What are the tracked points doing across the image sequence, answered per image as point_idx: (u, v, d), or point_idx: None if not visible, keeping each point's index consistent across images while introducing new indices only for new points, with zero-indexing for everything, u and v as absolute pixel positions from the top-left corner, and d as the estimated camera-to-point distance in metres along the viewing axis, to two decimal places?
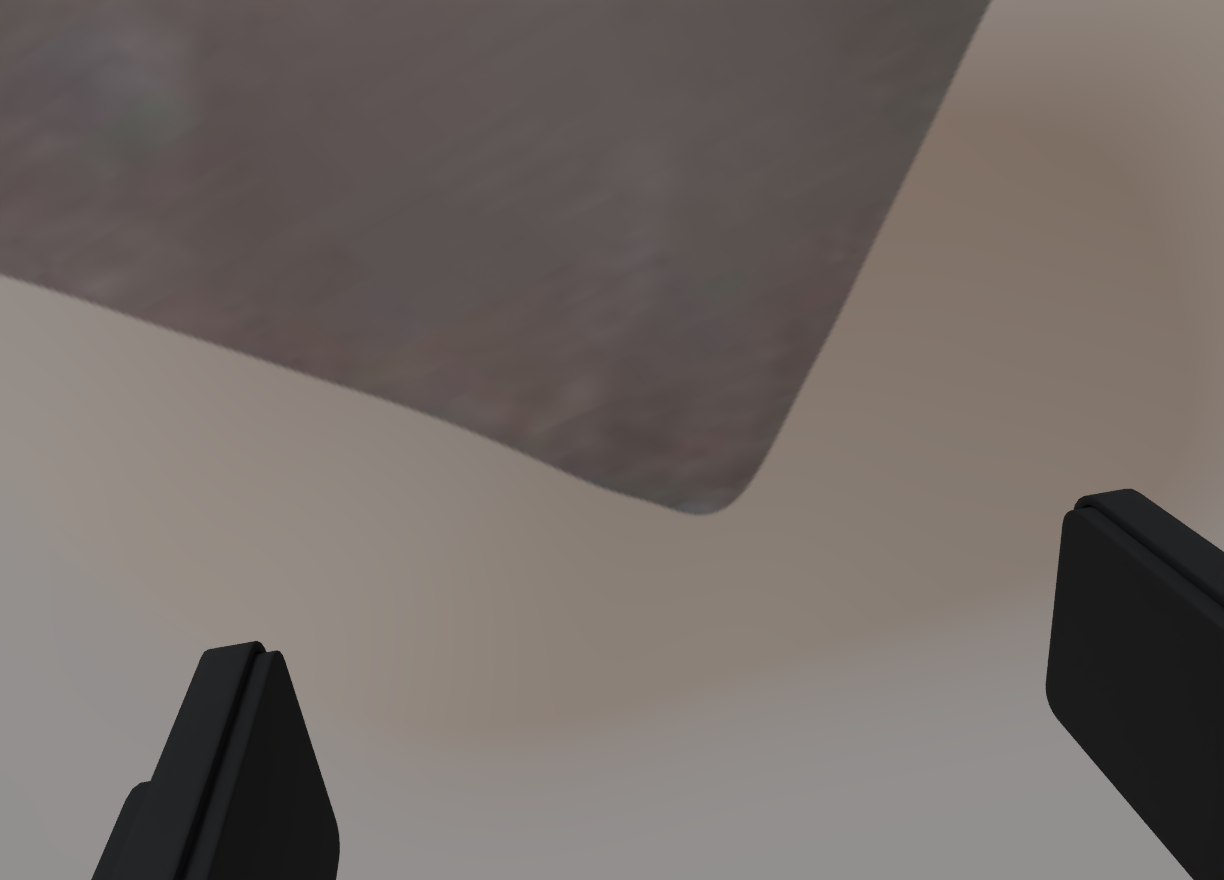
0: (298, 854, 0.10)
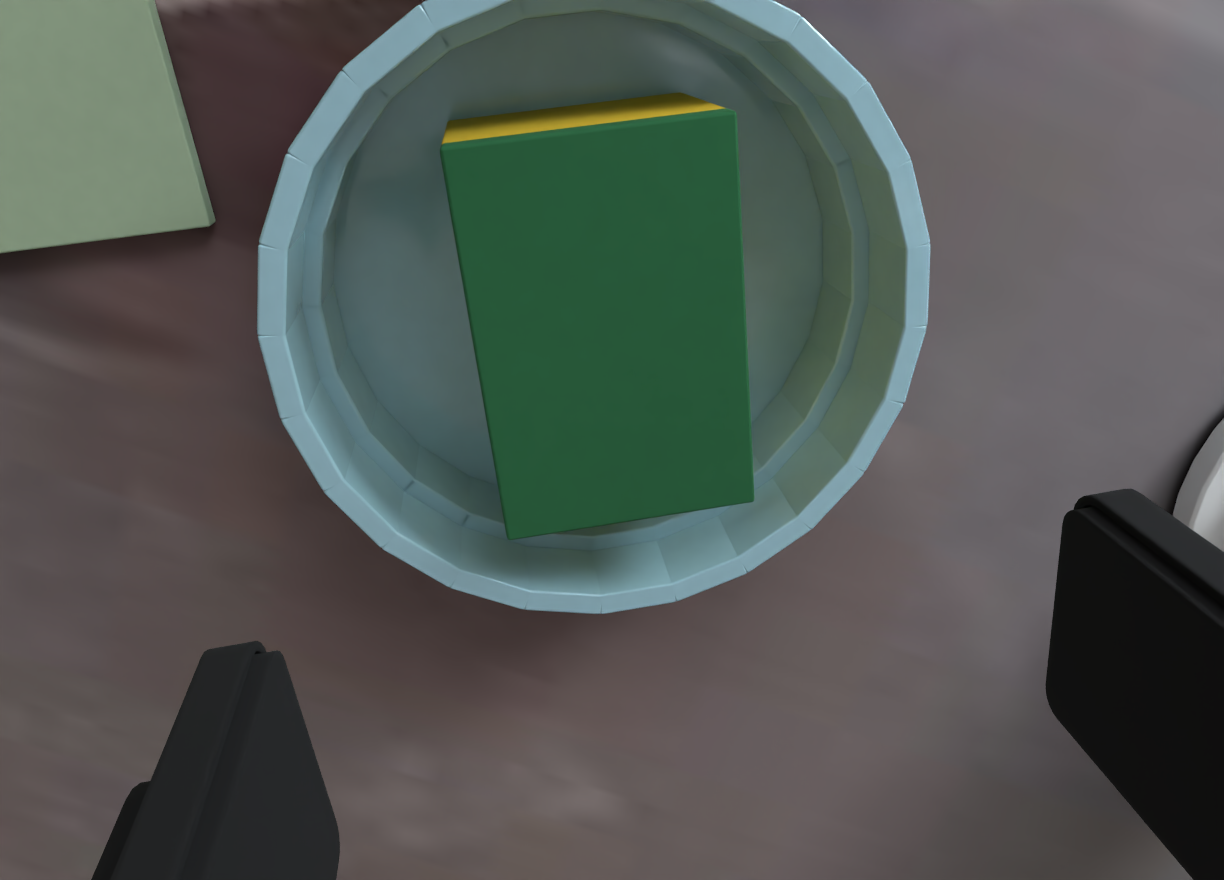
0: (298, 854, 0.10)
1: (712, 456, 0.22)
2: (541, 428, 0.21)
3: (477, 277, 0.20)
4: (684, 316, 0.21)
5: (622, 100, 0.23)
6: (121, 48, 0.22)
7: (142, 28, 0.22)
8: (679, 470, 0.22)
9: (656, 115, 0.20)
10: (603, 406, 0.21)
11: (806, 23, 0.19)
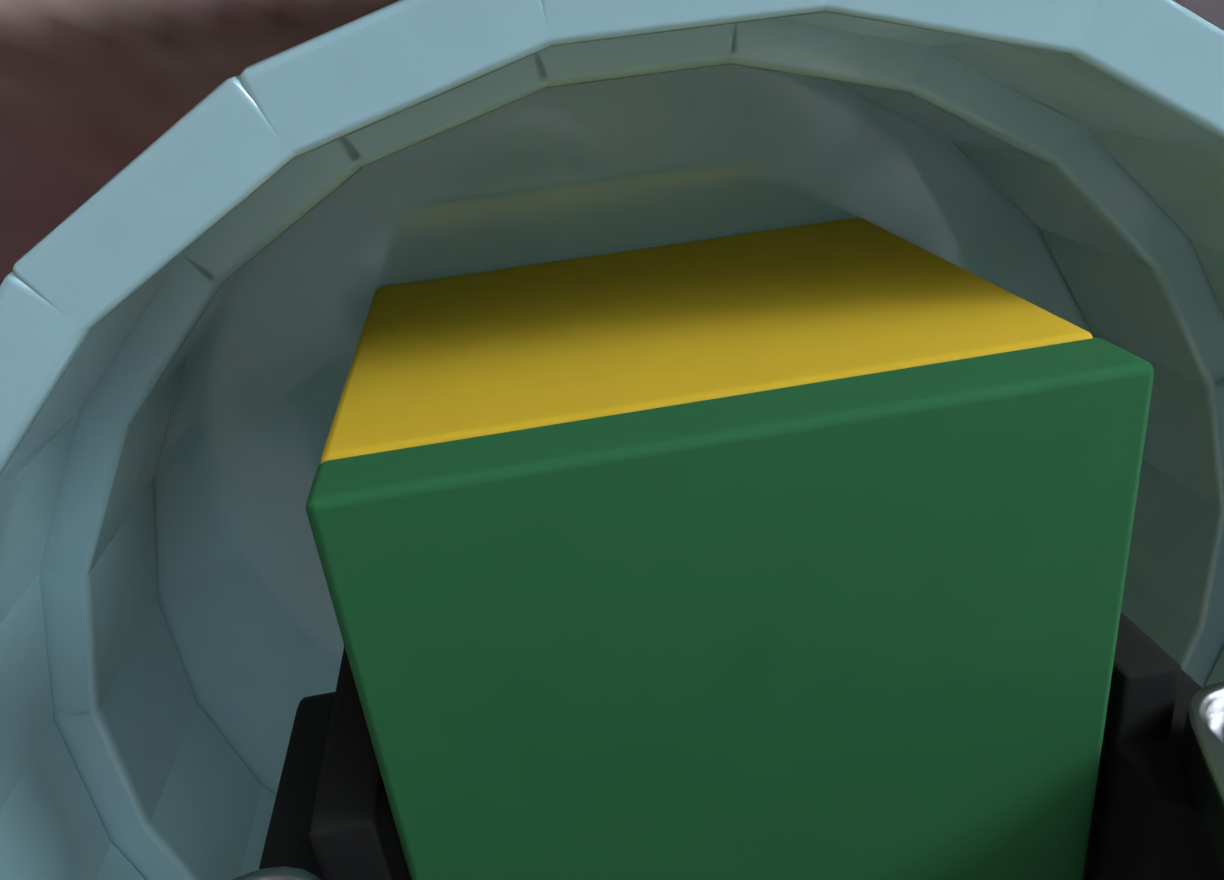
0: None
1: None
2: None
3: (429, 796, 0.07)
4: (948, 827, 0.08)
5: (744, 240, 0.11)
6: None
7: None
8: None
9: (904, 355, 0.07)
10: None
11: None
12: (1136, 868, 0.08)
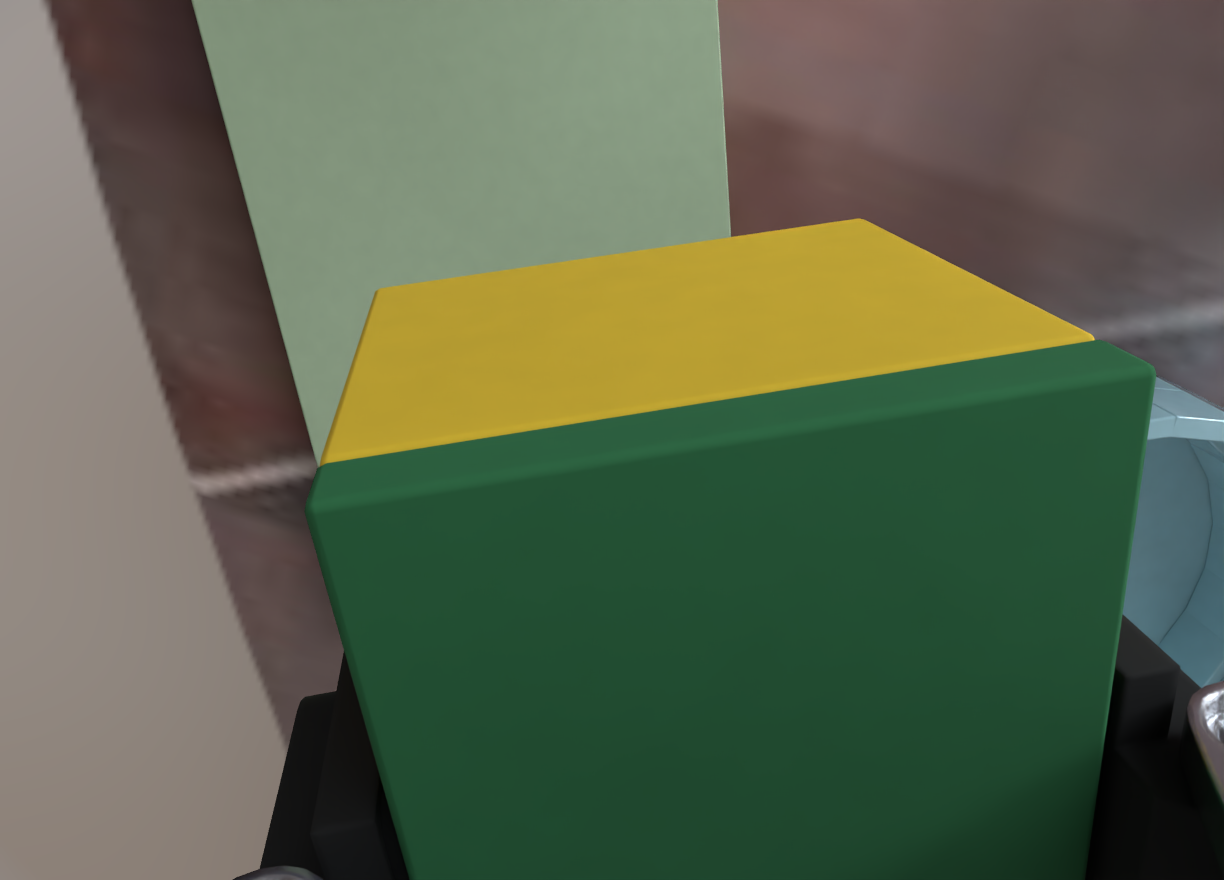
0: None
1: None
2: None
3: (428, 799, 0.07)
4: (950, 830, 0.08)
5: (745, 242, 0.11)
6: None
7: None
8: None
9: (905, 357, 0.07)
10: None
11: None
12: (1135, 868, 0.08)
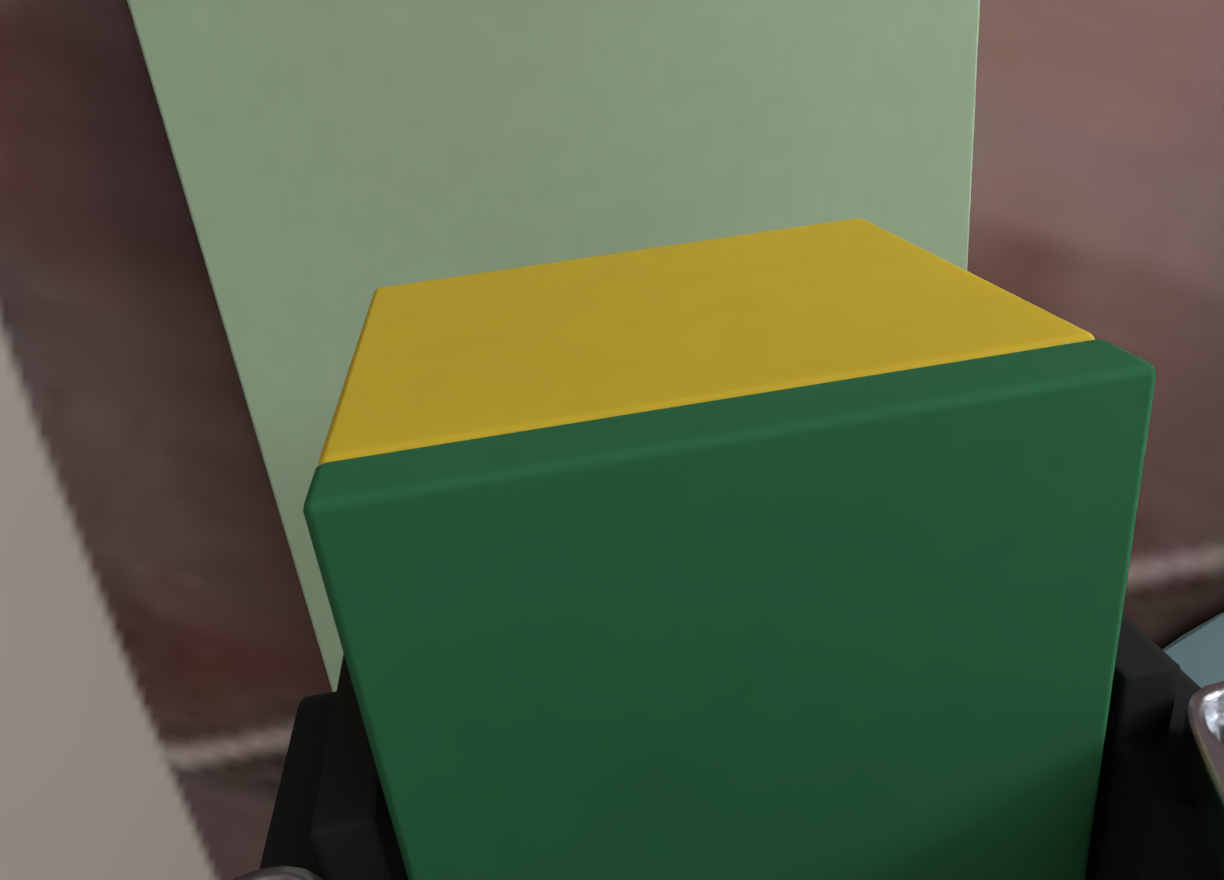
0: None
1: None
2: None
3: (427, 799, 0.07)
4: (949, 829, 0.08)
5: (744, 241, 0.11)
6: None
7: None
8: None
9: (905, 356, 0.07)
10: None
11: None
12: (1135, 868, 0.08)
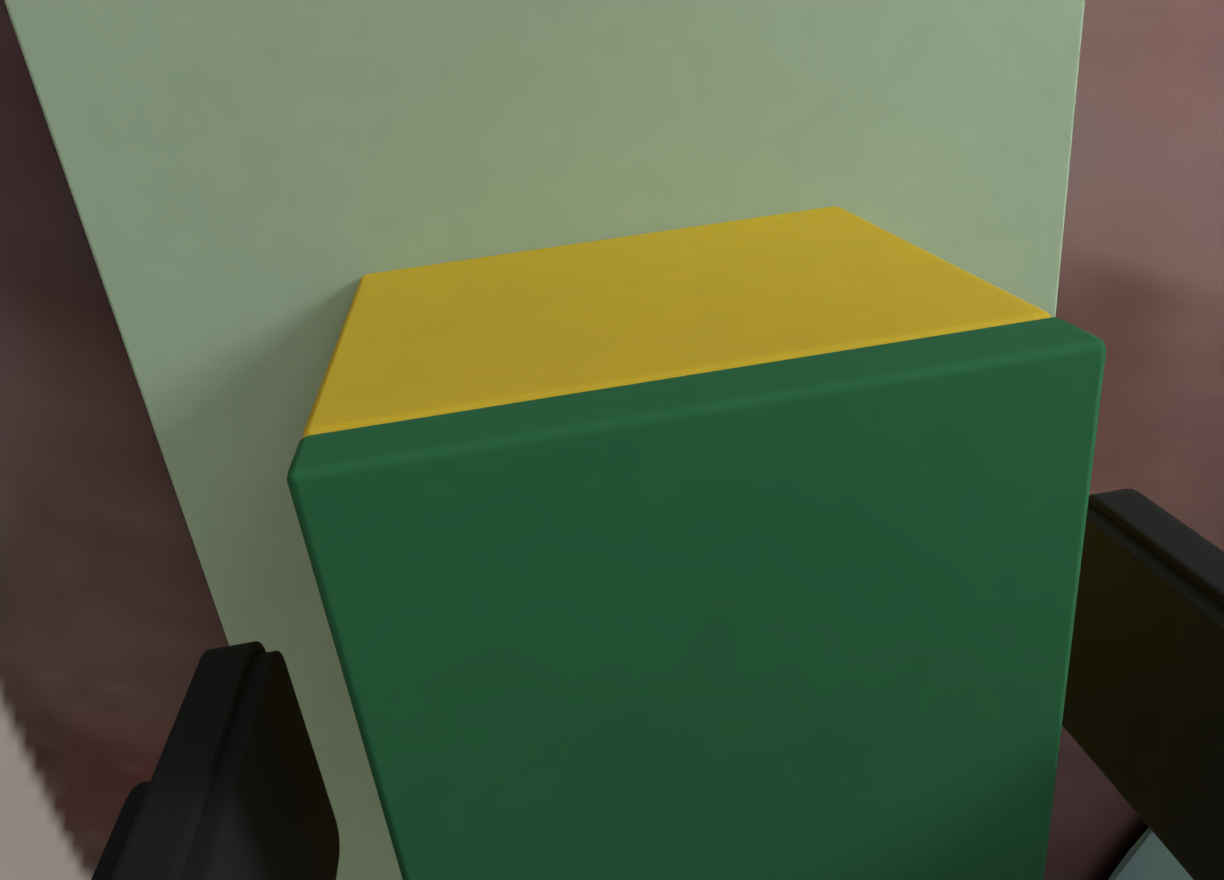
0: (298, 854, 0.10)
1: None
2: None
3: (409, 762, 0.08)
4: (915, 794, 0.09)
5: (722, 228, 0.11)
6: None
7: None
8: None
9: (868, 334, 0.08)
10: None
11: None
12: None
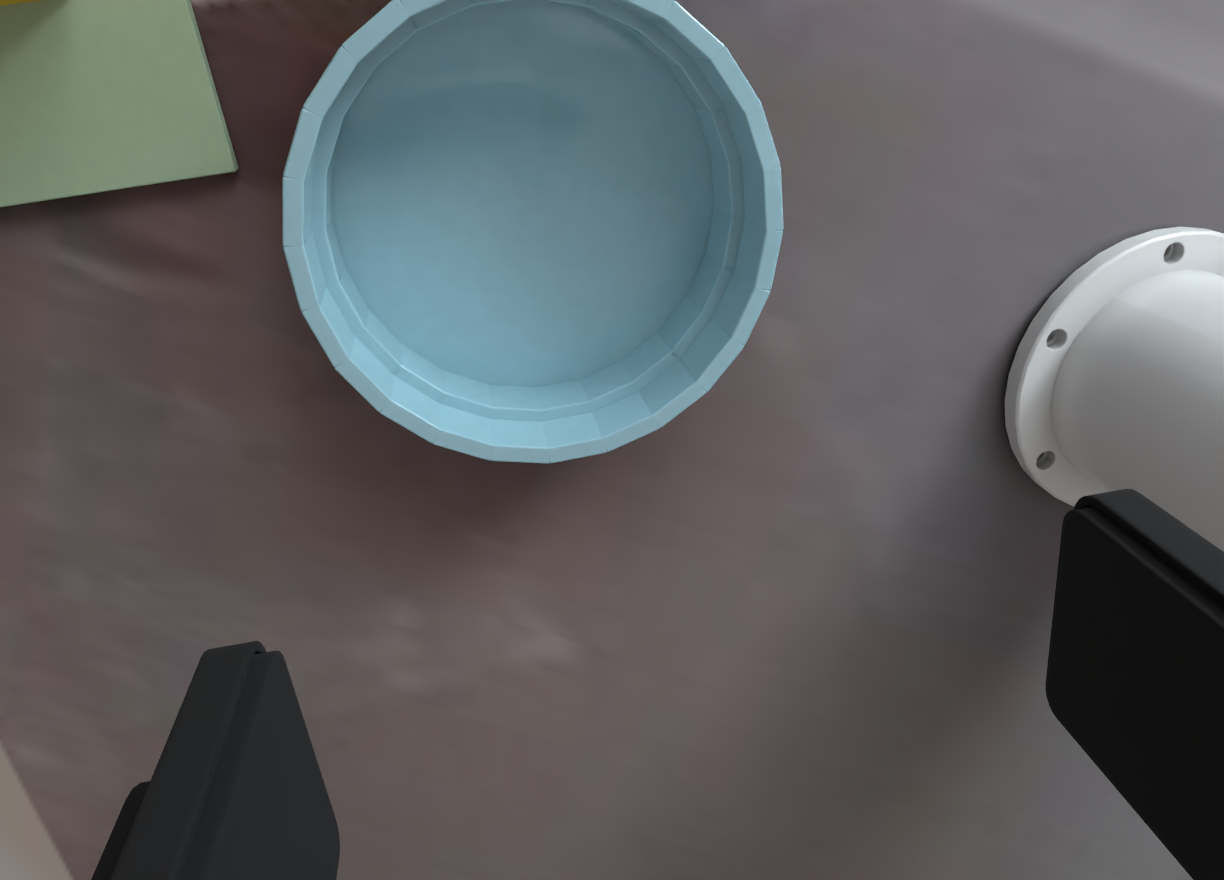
0: (298, 854, 0.10)
1: None
2: None
3: None
4: None
5: None
6: (165, 34, 0.29)
7: (181, 18, 0.28)
8: None
9: None
10: None
11: (677, 5, 0.27)
12: None
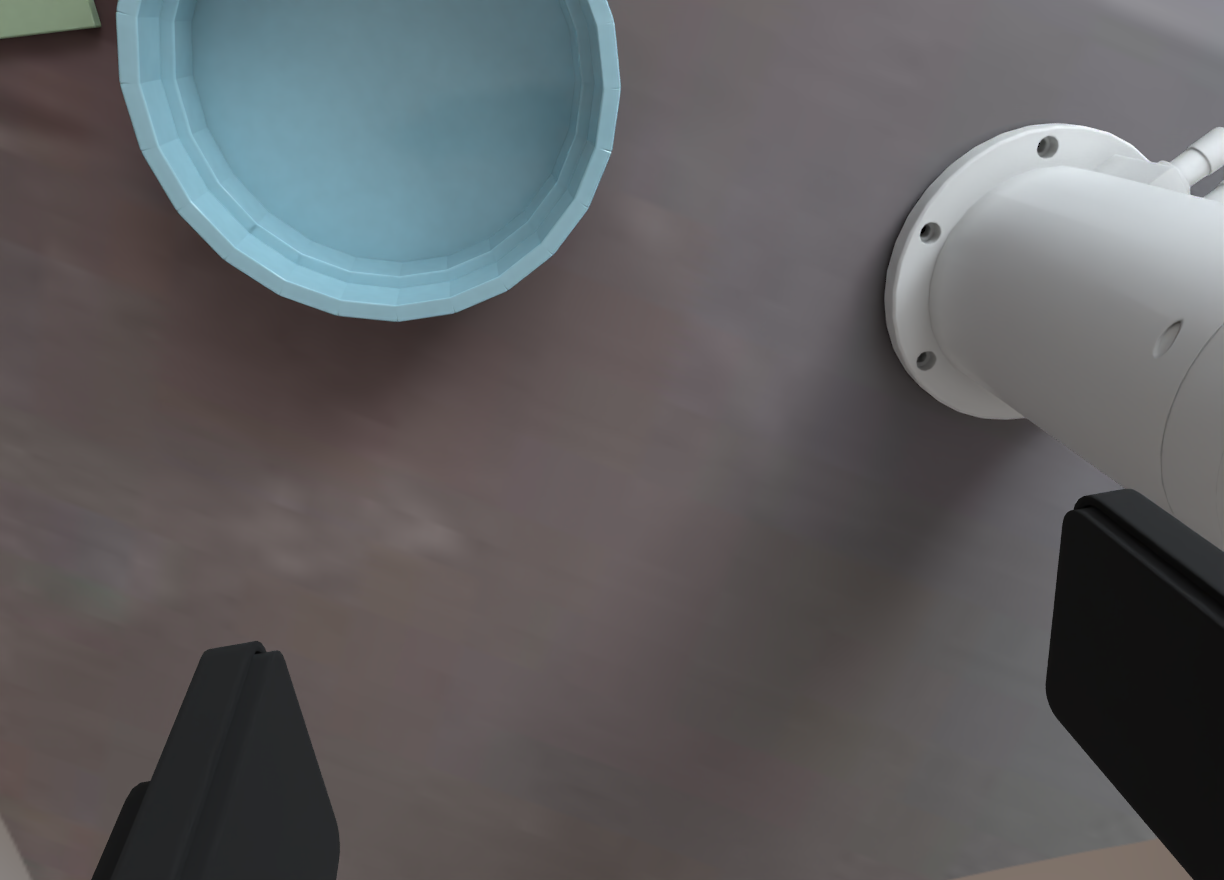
0: (298, 854, 0.10)
1: None
2: None
3: None
4: None
5: None
6: None
7: None
8: None
9: None
10: None
11: None
12: None
